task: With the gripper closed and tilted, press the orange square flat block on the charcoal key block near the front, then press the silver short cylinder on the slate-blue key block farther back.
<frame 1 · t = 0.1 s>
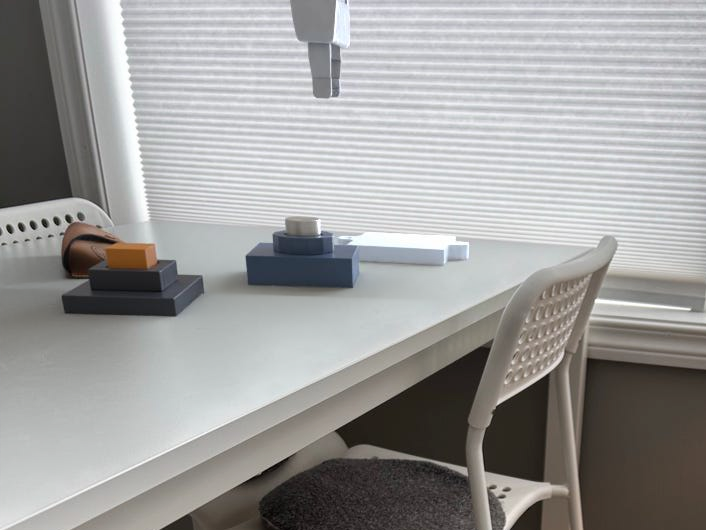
hand: (327, 97, 99), 19 cm above the table, tool pointing down, fingers open, 8 cm apart
mounting plate: (403, 256, 131), on the table
sunglasses case: (101, 267, 116), on the table
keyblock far: (305, 278, 113), on the table
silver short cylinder: (302, 228, 110), point 6 cm above the table, slide at 0.1 cm
orange square flat block: (132, 257, 89), point 6 cm above the table, slide at 0.1 cm
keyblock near: (140, 319, 92), on the table
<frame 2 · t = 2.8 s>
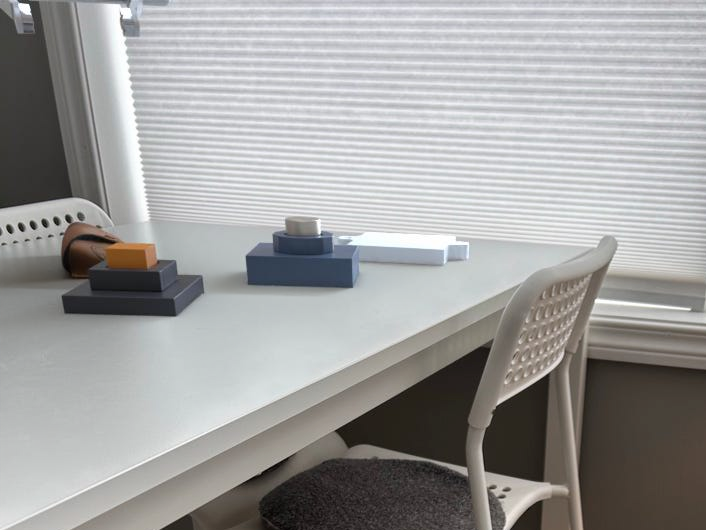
hand: (80, 29, 89), 24 cm above the table, tool tilted 45°, fingers open, 8 cm apart
nothing on the table moved.
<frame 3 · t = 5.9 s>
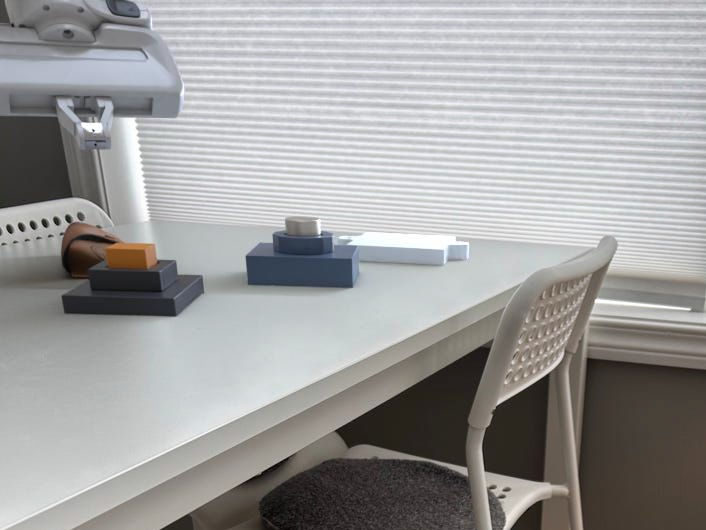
hand: (95, 145, 92), 14 cm above the table, tool tilted 45°, fingers closed
nothing on the table moved.
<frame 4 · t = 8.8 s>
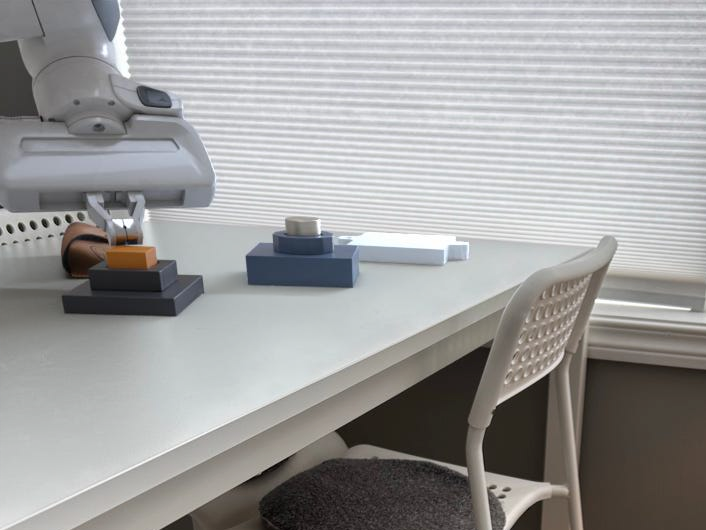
hand: (127, 241, 90), 7 cm above the table, tool tilted 45°, fingers closed
orange square flat block: (132, 260, 89), point 5 cm above the table, slide at -0.2 cm, touching gripper
everything else where it was.
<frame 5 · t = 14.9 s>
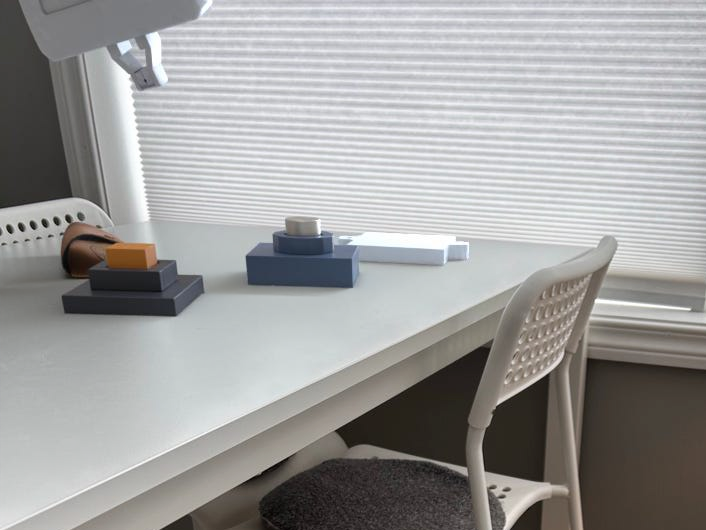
hand: (154, 86, 98), 19 cm above the table, tool tilted 25°, fingers closed
orange square flat block: (132, 257, 89), point 6 cm above the table, slide at 0.1 cm
everything else where it was.
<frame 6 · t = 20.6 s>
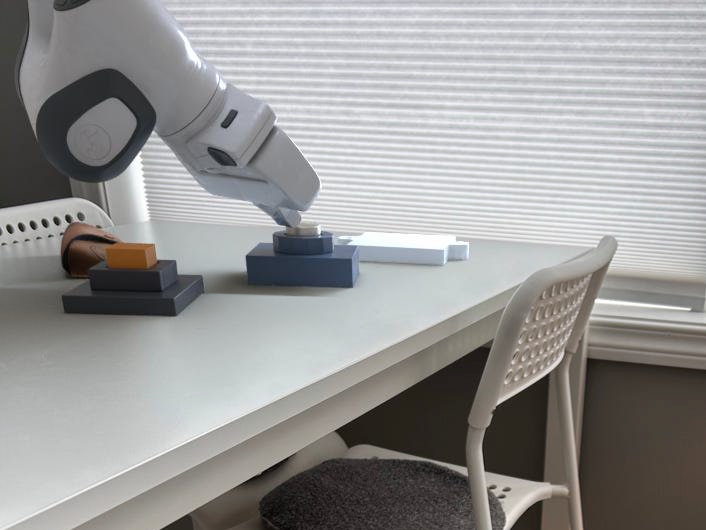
hand: (291, 222, 109), 6 cm above the table, tool tilted 45°, fingers closed, pressing on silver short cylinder
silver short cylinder: (303, 234, 111), point 5 cm above the table, slide at -0.6 cm, touching gripper
everything else where it was.
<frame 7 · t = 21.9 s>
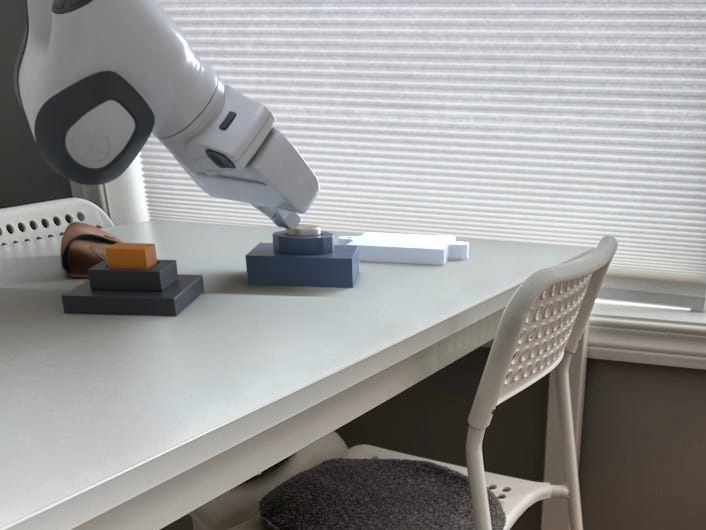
hand: (290, 224, 109), 6 cm above the table, tool tilted 45°, fingers closed
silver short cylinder: (303, 235, 111), point 5 cm above the table, slide at -0.7 cm
everything else where it was.
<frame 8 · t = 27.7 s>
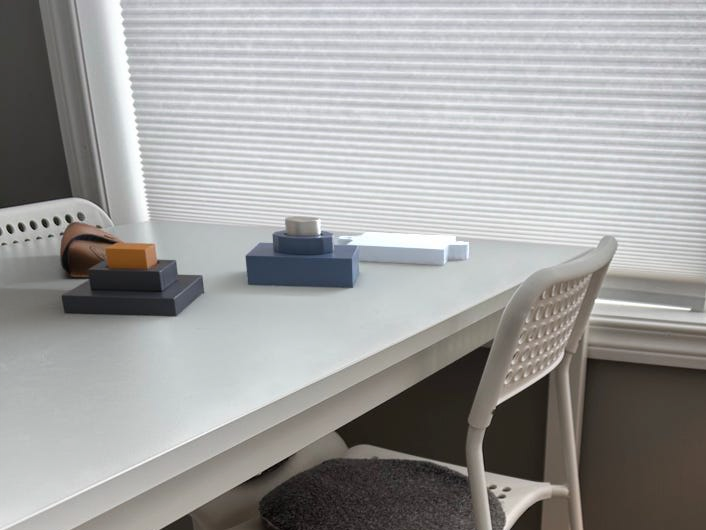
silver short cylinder: (302, 228, 110), point 6 cm above the table, slide at 0.1 cm
everything else where it was.
at the end: orange square flat block pushed in 1.2 cm at the most during the clip, back to where it started at the end; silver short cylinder pushed in 1.3 cm at the most during the clip, back to where it started at the end; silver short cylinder slide at 0.1 cm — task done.
